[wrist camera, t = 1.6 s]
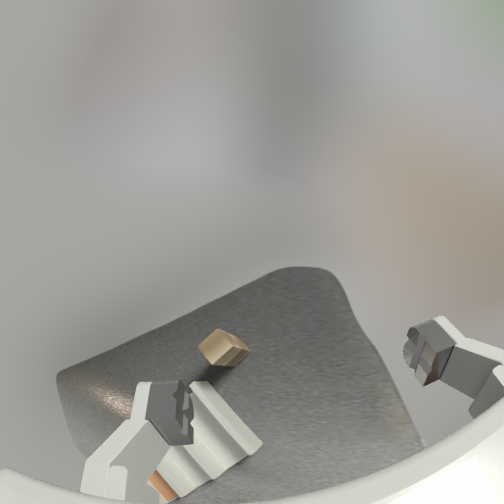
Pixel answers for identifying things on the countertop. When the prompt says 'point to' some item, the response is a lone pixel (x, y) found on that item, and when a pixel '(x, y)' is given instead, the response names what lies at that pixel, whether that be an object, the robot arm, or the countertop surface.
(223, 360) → the block
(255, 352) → the countertop surface
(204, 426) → the rack
